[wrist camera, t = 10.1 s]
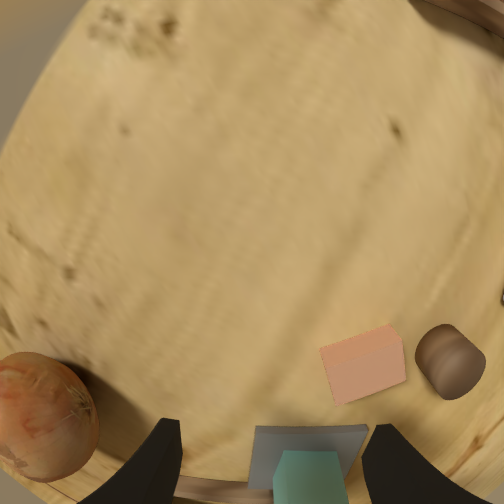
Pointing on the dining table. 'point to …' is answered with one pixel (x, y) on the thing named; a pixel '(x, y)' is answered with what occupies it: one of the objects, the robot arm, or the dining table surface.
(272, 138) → the dining table surface
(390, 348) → the terracotta box
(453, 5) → the block pen rim
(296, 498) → the teal block
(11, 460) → the onion
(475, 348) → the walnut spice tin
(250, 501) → the brown wooden frame
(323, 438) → the slate coaster
